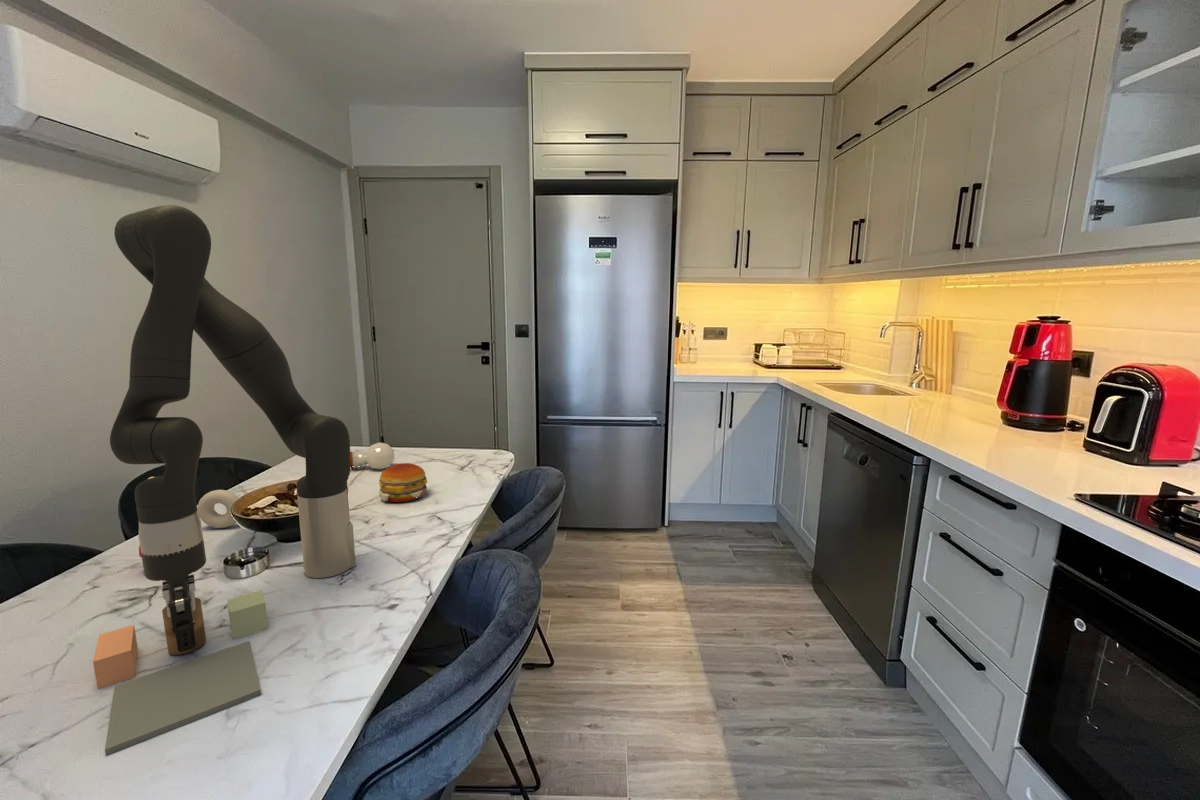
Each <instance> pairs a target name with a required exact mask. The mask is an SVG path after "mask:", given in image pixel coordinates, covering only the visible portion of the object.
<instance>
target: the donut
mask: <svg viewBox="0 0 1200 800" xmlns="http://www.w3.org/2000/svg"><path fill="white" fill-rule="evenodd" d="M238 499H240V497H239V496H238V495H237V494H235V493H234V492H232V491H229V490H226V489H225V490H224V489H216V490H211V491H209V492H207V493H205V494H204V495H203V496H202V497H201V498H200V499H199V501H198V503H197V510H198V514H199V517H200V520H201V522H202V523H204V524H205V525H206V526H209V527H211V528H213V529H214V528H216V529H224V528H229V527H232V526H233V525H235V524H236V523H237V522H236V521H235V520H234V519H233V517H232V516H231V513H230V507H231V505H232V504H233V503H234V502H235V501H237V500H238ZM216 504H221V505H223V506H224V507H225V509H226V513H225V514H221V513H218V512H217V511H216V510H215V505H216Z"/></svg>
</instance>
